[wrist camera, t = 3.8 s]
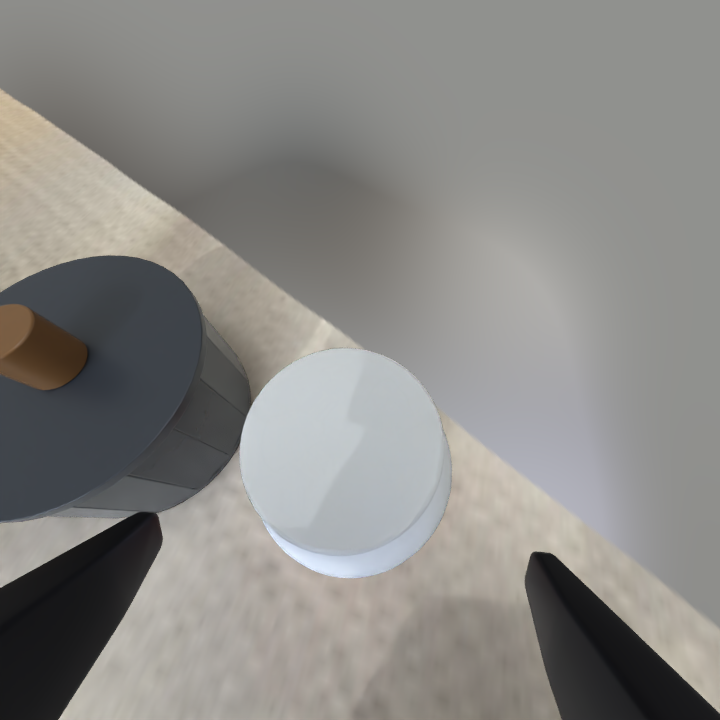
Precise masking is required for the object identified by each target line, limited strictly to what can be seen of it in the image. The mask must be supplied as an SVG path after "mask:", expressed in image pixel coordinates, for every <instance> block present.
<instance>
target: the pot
mask: <svg viewBox="0 0 720 720" xmlns="http://www.w3.org/2000/svg"><path fill="white" fill-rule="evenodd" d="M203 316H204V315H203ZM204 319H205V325H206V332H207V351H206V357H205V362H204V368H203V371H202V374H201V377H200V380H199V384H198V386H197V388H196V390H195V393H194V395H193V397H192V399H191V401H190V403H189V405H188V407H187V408H186V410H185V412H184V413H183V415H182V417H181V418H180V420H179V421H178V423H177V424H176V425H175V427H174V428H173V429H172V431H171V432H170V433H169V435H168V436H167V437H166V439H165V440H164V441H163V442H162V443H161V444H160V445H159V446H158V447H157V448H156V449H155V451H154V452H153V453H152V454H151V455H150V456H149V457H148V458H147V459H145V460H144V461H143V462H142V463H141V464H140V465H139V466H138V467H136V468H135V469H134V470H133V471H132V472H131V473H129V474H128V475H127V476H125V477H124V478H122V479H121V480H120V481H118V482H117V483H116V484H114V485H113V486H111V487H110V488H108V489H106V490H105V491H103V492H101V493H100V494H98V495H96V496H94V497H93V498H91V499H89V500H87V501H85V502H83V503H80V504H78V505H76V506H74V507H72V508H69V509H67V510H64V511H61V512H58V513H55V514H52V515H49V516H60V517H93V518H122V517H130V516H132V515H134V514H135V513H137V512H152V513H158V512H160V511H163V510H166V509H169V508H171V507H173V506H176V505H178V504H180V503H182V502H184V501H185V500H187V499H188V498H190V497H192V496H193V495H195V494H196V493H198V492H199V491H200V490H201V489H203V488H204V487H205V486H206V485H208V484H209V483H210V482H211V481H212V480H213V479H214V478H215V477H216V476H217V475H218V474H219V473H220V472H221V470H222V469H223V468H224V467H225V466H226V464H227V463H228V462H229V460H230V459H231V457H232V456H233V454H234V453H235V451H236V449H237V447H238V445H239V443H240V441H241V435H242V431H243V426H244V423H245V420H246V417H247V415H248V412H249V410H250V402H251V401H250V388H249V382H248V379H247V376H246V373H245V370H244V368H243V367H242V365H241V363H240V361H239V359H238V357H237V355H236V354H235V352H234V351H233V350H232V349H231V348H230V346H229V345H228V344H227V343H226V342H225V340H224V339H223V338H222V337H221V336H220V334H219V333H218V332H217V331H216V330H215V328H214V327H213V326H212V325H211V324H210V322H209V321H208V320H207V319H206V318H205V316H204Z"/></svg>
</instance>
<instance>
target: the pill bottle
mask: <svg viewBox="0 0 720 720" xmlns="http://www.w3.org/2000/svg"><path fill="white" fill-rule="evenodd" d="M239 458H240V469H241V475H242V479H243V484H244V486H245V489H246V492H247V495H248V498H249V500H250V501H251V503H252V505H253V507H254V509H255V510H256V512H257V513H258V514H259V516H260V517H261V519H262V521H263V523H264V525H265V527H266V528H267V530H268V532H269V533H270V535H271V536H272V538H273V539H274V540H275V542H276V543H277V544H278V545H279V546H280V547H281V548H282V549H283V550H284V552H285V553H287V554H288V555H289V556H290V557H292V558H293V559H295V560H296V561H297V562H299V563H300V564H302V565H304V566H305V567H307V568H309V569H311V570H313V571H316V572H318V573H321V574H325V575H328V576H334V577H341V578H362V577H368V576H373V575H377V574H380V573H383V572H385V571H388V570H390V569H392V568H394V567H396V566H398V565H400V564H401V563H403V562H404V561H405V560H407V559H408V558H410V557H411V556H412V555H414V554H415V553H416V552H417V551H418V550H419V549H420V548H421V547H422V546H423V545H424V544H425V543H426V542H427V541H428V540H429V538H430V537H431V535H432V534H433V533H434V531H435V530H436V528H437V526H438V525H439V523H440V521H441V519H442V516H443V514H444V511H445V509H446V506H447V503H448V499H449V495H450V491H451V482H452V462H451V455H450V449H449V445H448V441H447V438H446V435H445V433H444V430H443V427H442V423H441V419H440V416H439V413H438V411H437V408H436V406H435V404H434V402H433V400H432V398H431V396H430V395H429V393H428V391H427V390H426V389H425V387H424V386H423V385H422V383H421V382H420V381H419V380H418V379H417V378H416V377H415V376H414V375H413V374H412V373H411V372H410V371H408V370H407V369H406V368H405V367H403V366H402V365H400V364H399V363H397V362H396V361H394V360H392V359H390V358H388V357H386V356H383V355H381V354H378V353H375V352H372V351H368V350H363V349H356V348H334V349H328V350H323V351H319V352H316V353H312V354H310V355H307V356H305V357H302V358H300V359H298V360H296V361H294V362H293V363H291V364H289V365H288V366H286V367H285V368H283V369H282V370H281V371H280V372H279V373H277V374H276V375H275V376H274V377H273V378H272V379H271V380H270V381H269V382H268V383H267V384H266V385H265V386H264V388H263V389H262V390H261V392H260V393H259V395H258V396H257V398H256V399H255V401H254V402H253V404H252V406H251V408H250V410H249V412H248V415H247V417H246V420H245V423H244V426H243V431H242V435H241V442H240V455H239Z"/></svg>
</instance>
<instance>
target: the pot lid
mask: <svg viewBox="0 0 720 720" xmlns="http://www.w3.org/2000/svg"><path fill="white" fill-rule="evenodd" d="M206 351H207V332H206V325H205V319H204V316H203V313H202V310H201V307H200V305H199V303H198V302H197V300H196V298H195V296H194V295H193V294H192V292H191V291H190V290H189V289H188V287H187V286H186V285H185V284H184V282H183V281H182V280H181V279H179V278H178V277H177V276H176V275H175V274H174V273H172V272H171V271H169V270H167V269H166V268H164V267H163V266H160V265H158V264H156V263H153V262H151V261H147V260H144V259H140V258H135V257H128V256H96V257H89V258H83V259H77V260H73V261H70V262H66V263H62V264H59V265H56V266H53V267H50V268H48V269H45V270H42V271H40V272H38V273H36V274H33V275H31V276H29V277H27V278H25V279H23V280H21V281H19V282H17V283H15V284H14V285H12V286H10V287H8V288H7V289H5V290H4V291H2V292H0V523H9V522H23V521H28V520H33V519H38V518H43V517H46V516H49V515H52V514H55V513H58V512H61V511H64V510H67V509H69V508H72V507H74V506H76V505H78V504H80V503H83V502H85V501H87V500H89V499H91V498H93V497H94V496H96V495H98V494H100V493H101V492H103V491H105V490H106V489H108V488H110V487H111V486H113V485H114V484H116V483H117V482H118V481H120V480H121V479H122V478H124V477H125V476H127V475H128V474H129V473H131V472H132V471H133V470H134V469H135V468H136V467H138V466H139V465H140V464H141V463H142V462H143V461H144V460H145V459H147V458H148V457H149V456H150V455H151V454H152V453H153V452H154V451H155V449H156V448H157V447H158V446H159V445H160V444H161V443H162V442H163V441H164V440H165V439H166V437H167V436H168V435H169V433H170V432H171V431H172V429H173V428H174V427H175V425H176V424H177V423H178V421H179V420H180V418H181V417H182V415H183V413H184V412H185V410H186V408H187V407H188V405H189V403H190V401H191V399H192V397H193V395H194V393H195V390H196V388H197V386H198V384H199V380H200V377H201V374H202V371H203V368H204V362H205V357H206Z"/></svg>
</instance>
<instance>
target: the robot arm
mask: <svg viewBox="0 0 720 720" xmlns="http://www.w3.org/2000/svg"><path fill="white" fill-rule="evenodd" d="M162 541H163V536H162V531H161V527H160V522H159V517H158V515H157V514H156V513H152V512H137V513H135V514H134V515H132V516H130V517H128V518H126V519H125V520H123V521H121V522H119V523H117V524H115V525H114V526H112V527H110V528H108V529H106V530H105V531H103V532H101V533H99V534H97V535H96V536H94V537H92V538H90V539H88V540H87V541H85V542H83V543H81V544H79V545H78V546H76V547H74V548H72V549H70V550H68V551H67V552H65V553H63V554H61V555H59V556H58V557H56V558H54V559H52V560H50V561H49V562H47V563H45V564H43V565H41V566H40V567H38V568H36V569H34V570H32V571H30V572H29V573H27V574H25V575H23V576H21V577H20V578H18V579H16V580H14V581H12V582H11V583H9V584H7V585H5V586H3V587H2V588H0V720H58V719H59V718H60V716H61V715H62V713H63V711H64V710H65V708H66V707H67V705H68V704H69V702H70V701H71V699H72V697H73V696H74V694H75V693H76V691H77V690H78V688H79V686H80V685H81V683H82V682H83V680H84V679H85V677H86V675H87V674H88V672H89V671H90V669H91V668H92V666H93V664H94V663H95V661H96V660H97V658H98V657H99V655H100V654H101V652H102V650H103V649H104V647H105V646H106V644H107V643H108V641H109V639H110V638H111V636H112V635H113V633H114V632H115V630H116V628H117V627H118V625H119V624H120V622H121V620H122V619H123V617H124V615H125V614H126V612H127V610H128V608H129V607H130V605H131V603H132V601H133V599H134V597H135V595H136V594H137V592H138V590H139V588H140V586H141V584H142V582H143V580H144V578H145V577H146V575H147V573H148V571H149V569H150V567H151V565H152V563H153V562H154V560H155V558H156V556H157V554H158V552H159V550H160V548H161V545H162ZM525 588H526V593H527V597H528V601H529V605H530V609H531V613H532V617H533V621H534V625H535V630H536V634H537V638H538V642H539V646H540V650H541V654H542V658H543V662H544V666H545V670H546V673H547V676H548V679H549V682H550V686H551V689H552V692H553V695H554V697H555V700H556V703H557V706H558V709H559V712H560V715H561V718H562V720H720V713H718V712H717V711H716V710H715V709H714V708H713V707H712V706H711V705H710V704H709V703H708V702H707V701H706V700H705V699H704V698H703V697H702V696H701V695H700V694H699V693H698V692H697V691H696V690H694V689H693V688H692V687H691V686H690V685H689V684H688V683H687V682H686V681H685V680H684V679H683V678H682V677H681V676H680V675H679V674H678V673H677V672H676V671H675V670H674V669H673V668H672V667H670V666H669V665H668V664H667V663H666V662H665V661H664V660H663V659H662V658H661V657H660V656H659V655H658V654H657V653H656V652H655V651H654V650H653V649H652V648H651V647H650V646H649V645H647V644H646V643H645V642H644V641H643V640H642V639H641V638H640V637H639V636H638V635H637V634H636V633H635V632H634V631H633V630H632V629H631V628H630V627H629V626H628V625H627V624H626V623H625V622H623V621H622V620H621V619H620V618H619V617H618V616H617V615H616V614H615V613H614V612H613V611H612V610H611V609H610V608H609V607H608V606H607V605H606V604H605V603H604V602H603V601H602V600H601V599H599V598H598V597H597V596H596V595H595V594H594V593H593V592H592V591H591V590H590V589H589V588H588V587H587V586H586V585H585V584H584V583H583V582H582V581H581V580H580V579H579V578H578V577H577V576H575V575H574V574H573V573H572V572H571V571H570V570H569V569H568V568H567V567H566V566H565V565H564V564H563V563H562V562H561V561H560V560H559V559H558V558H557V557H556V556H554V555H553V554H551V553H545V552H533V553H532V554H531V556H530V560H529V564H528V567H527V571H526V575H525Z"/></svg>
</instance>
